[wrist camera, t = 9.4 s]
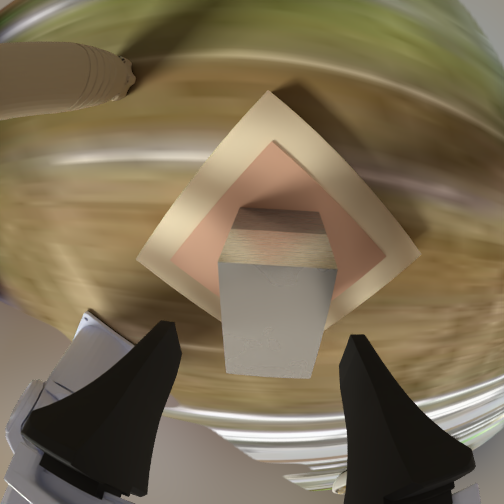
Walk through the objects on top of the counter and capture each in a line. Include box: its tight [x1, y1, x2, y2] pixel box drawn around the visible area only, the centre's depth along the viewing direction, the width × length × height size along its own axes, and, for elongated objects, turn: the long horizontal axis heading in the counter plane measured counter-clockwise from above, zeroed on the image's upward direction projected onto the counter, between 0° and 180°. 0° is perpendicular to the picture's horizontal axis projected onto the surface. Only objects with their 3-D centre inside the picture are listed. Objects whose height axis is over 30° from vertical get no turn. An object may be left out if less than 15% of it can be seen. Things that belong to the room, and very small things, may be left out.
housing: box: [218, 207, 338, 378], centre depth 14 cm, size 4×7×6 cm, turn 179°
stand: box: [136, 90, 421, 330], centre depth 18 cm, size 14×14×2 cm
